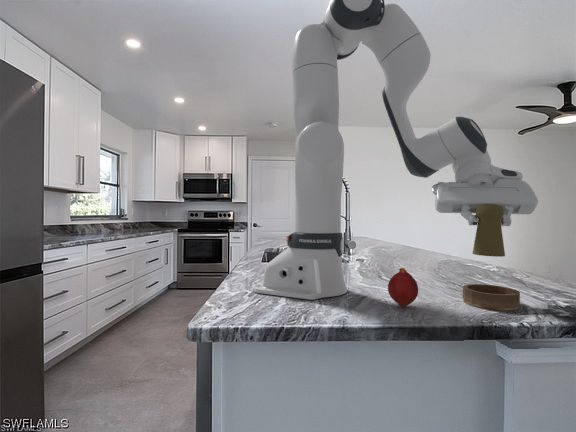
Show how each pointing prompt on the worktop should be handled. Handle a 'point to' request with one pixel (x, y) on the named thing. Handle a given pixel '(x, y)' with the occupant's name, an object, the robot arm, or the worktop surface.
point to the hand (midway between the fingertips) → (490, 223)
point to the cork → (489, 231)
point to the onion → (403, 288)
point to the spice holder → (491, 297)
